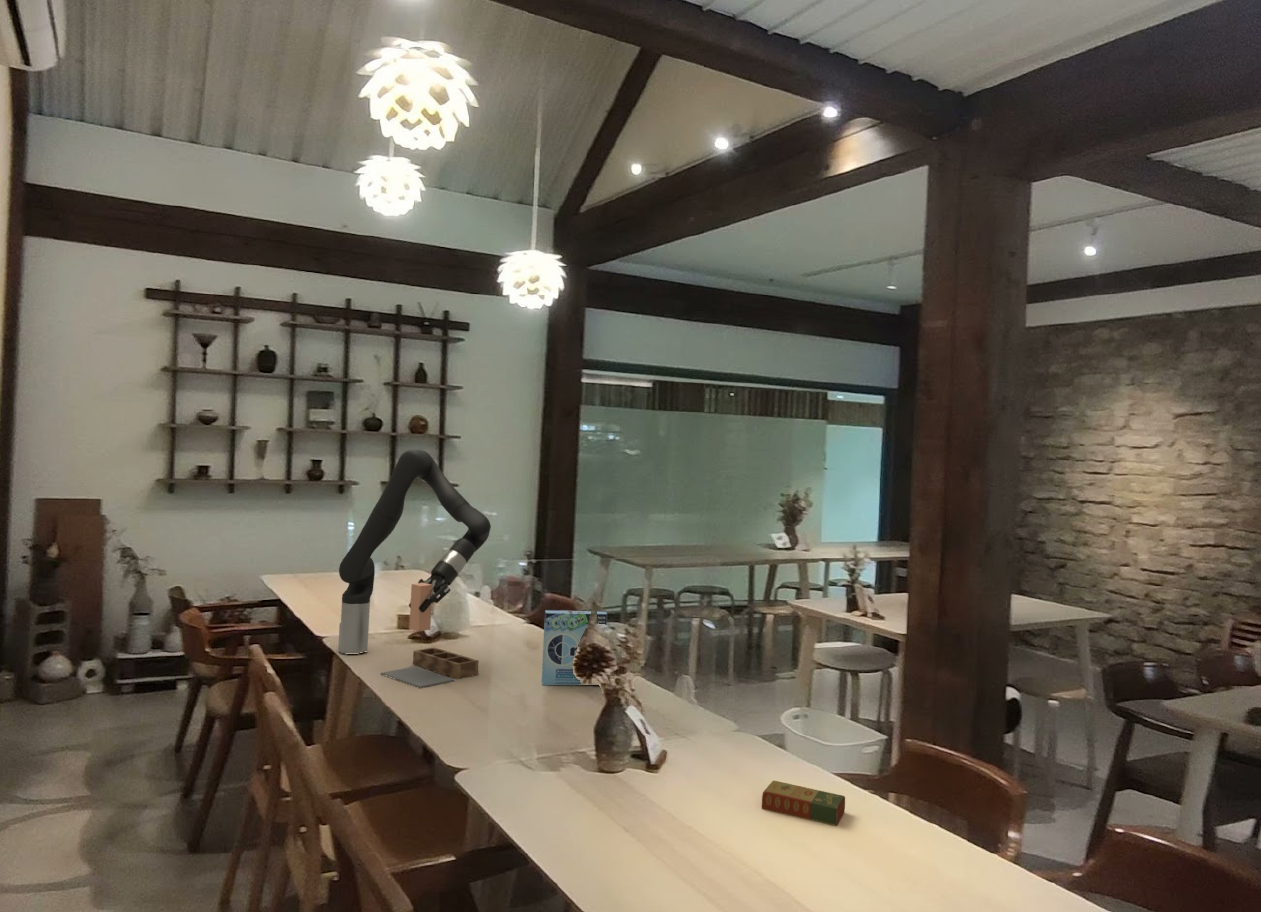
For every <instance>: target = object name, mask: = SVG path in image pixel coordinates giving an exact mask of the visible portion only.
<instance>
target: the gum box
mask: <svg viewBox="0 0 1261 912" xmlns="http://www.w3.org/2000/svg"><path fill="white" fill-rule="evenodd" d="M591 611H592V610H569V609H568V610H565V609H560V610H557V609H545V610H544V623H543V649H542V667H541V668H542V670H541V685H542V686H543V685H544V686H547V685H579V686H578V687H580V684H581V682H580V680H578V679H577V678H576V677H575V675H574V674H573V667H572V665H573V659H574V657H575V655H576V652H577V649H578V644H579V642H580V639H581V637H582V635H583V633H584V631H585V629H586V628H587V625H588V622H589V616H590V614H591ZM596 611H597V619H598V623H599V624H605V625H607V623H608V613H607V611H606V610H596ZM607 626H608V625H607Z"/></svg>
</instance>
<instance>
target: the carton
mask: <svg viewBox="0 0 1261 912" xmlns="http://www.w3.org/2000/svg"><path fill="white" fill-rule="evenodd" d="M845 808H846V796H845V795H843V794H842V795H841V794H836V793H833V792H828V791H824V790H818V789H814V788H809V787H806V786H802V785H801V786H800V785H795V784H792V783H788V782H787V783H786V782H782V781H777V780H772V781H771V782H770V784H768V785H767V787H766V788H765V789H764V790H763V792H762V796H761V809H762V810H763V811H769V812H772V813H777V814H781V815H785V816H789V817H790V816H791V817H795V818H798V819H803V820H808V821H813V822H816V823H820V824H823V825H824V824H825V825H829V826H832V827H833V826H834V827H837V826H838V824H839V823H840V821H841V819H842V818H843V815H844V814H845V811H846V809H845Z"/></svg>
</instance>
